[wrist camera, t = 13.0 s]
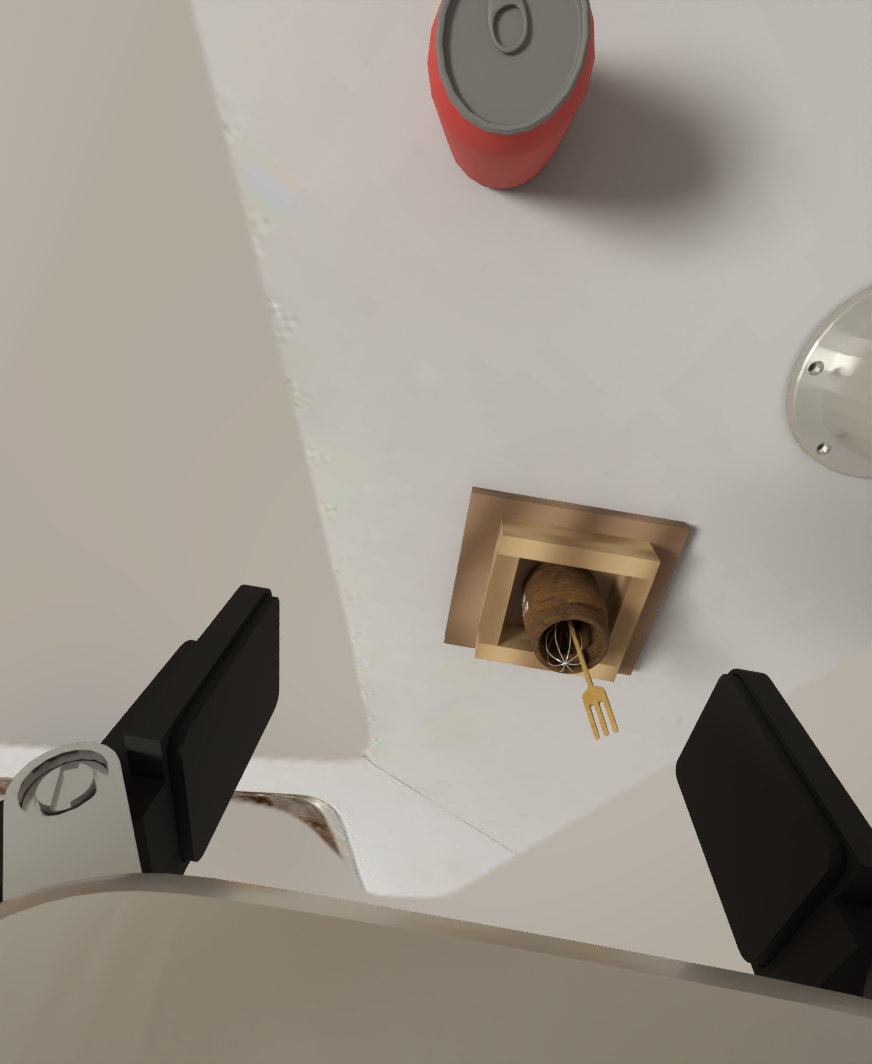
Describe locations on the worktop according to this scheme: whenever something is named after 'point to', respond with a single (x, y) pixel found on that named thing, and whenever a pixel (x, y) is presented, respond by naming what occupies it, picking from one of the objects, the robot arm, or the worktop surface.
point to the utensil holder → (568, 627)
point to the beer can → (509, 81)
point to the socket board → (568, 539)
